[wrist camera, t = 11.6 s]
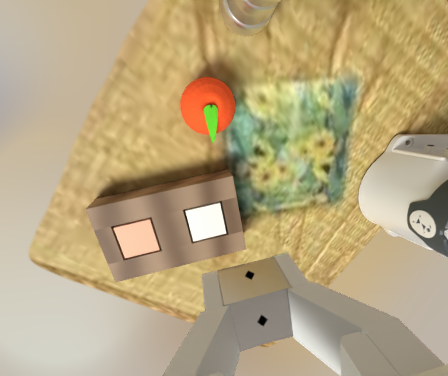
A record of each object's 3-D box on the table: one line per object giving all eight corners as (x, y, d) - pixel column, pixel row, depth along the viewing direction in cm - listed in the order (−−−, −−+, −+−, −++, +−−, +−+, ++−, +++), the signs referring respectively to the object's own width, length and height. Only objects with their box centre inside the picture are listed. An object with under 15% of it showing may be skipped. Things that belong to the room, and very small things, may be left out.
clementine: (232, 136, 36) (243, 143, 29) (185, 142, 35) (186, 150, 29) (227, 77, 33) (238, 70, 27) (177, 82, 33) (175, 75, 26)
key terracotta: (152, 211, 36) (149, 219, 34) (161, 240, 38) (159, 249, 35) (118, 219, 36) (113, 228, 33) (129, 247, 38) (125, 258, 35)
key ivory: (217, 196, 37) (219, 203, 35) (223, 224, 39) (226, 233, 36) (185, 203, 37) (185, 211, 34) (192, 232, 38) (193, 241, 36)
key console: (228, 169, 37) (232, 175, 34) (240, 236, 41) (246, 249, 38) (95, 198, 36) (85, 209, 32) (122, 265, 40) (115, 282, 36)
